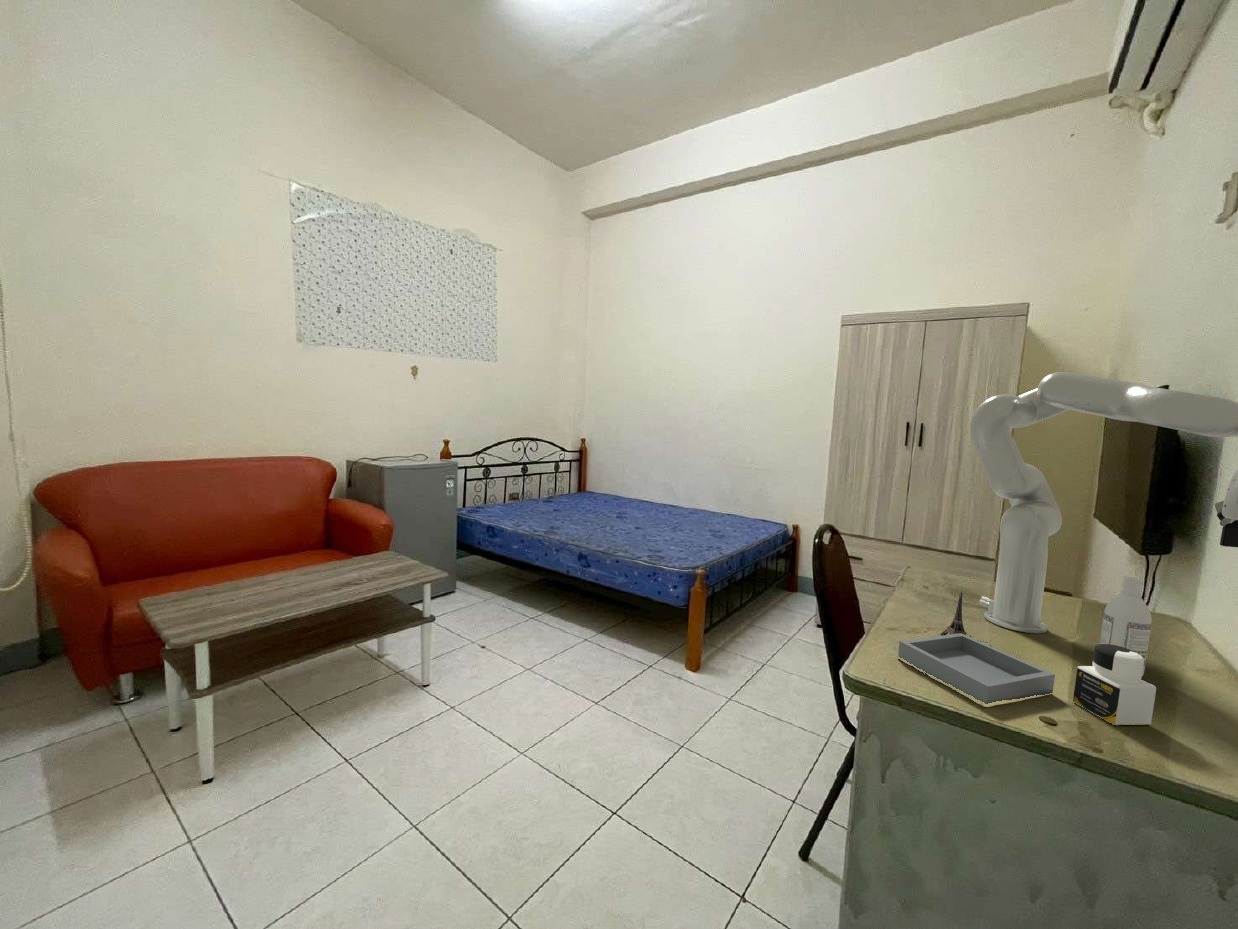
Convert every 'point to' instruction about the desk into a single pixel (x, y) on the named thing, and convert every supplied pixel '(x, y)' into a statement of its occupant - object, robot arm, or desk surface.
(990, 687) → the tray
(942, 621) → the desk surface
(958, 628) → the eiffel tower figurine
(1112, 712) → the medicine bottle
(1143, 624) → the bath foam
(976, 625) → the desk surface
